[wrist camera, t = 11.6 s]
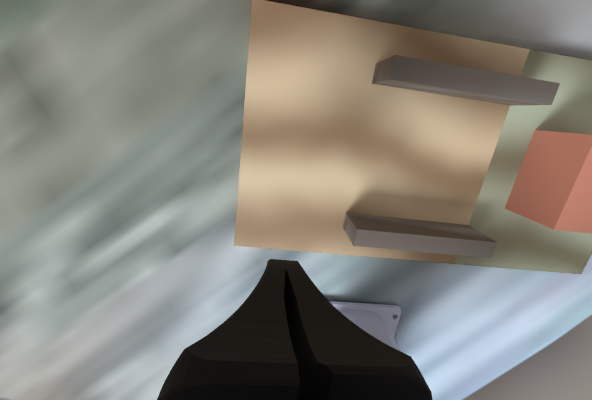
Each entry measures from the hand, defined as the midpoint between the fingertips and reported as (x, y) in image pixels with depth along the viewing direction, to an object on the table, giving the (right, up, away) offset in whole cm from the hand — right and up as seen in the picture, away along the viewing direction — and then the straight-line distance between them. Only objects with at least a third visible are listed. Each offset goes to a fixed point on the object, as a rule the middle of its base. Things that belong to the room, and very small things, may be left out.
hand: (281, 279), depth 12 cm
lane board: (+13, +6, +9) cm, 17 cm away
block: (+20, +5, +9) cm, 23 cm away
